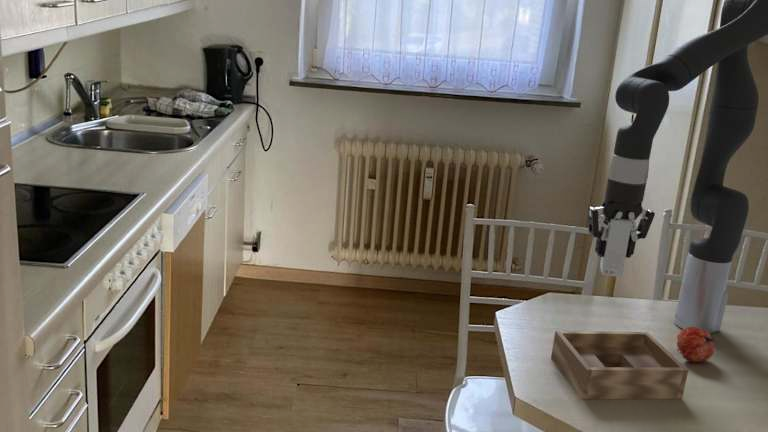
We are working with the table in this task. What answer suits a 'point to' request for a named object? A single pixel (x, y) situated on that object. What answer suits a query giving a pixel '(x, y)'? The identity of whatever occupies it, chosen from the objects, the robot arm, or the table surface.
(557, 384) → the table surface
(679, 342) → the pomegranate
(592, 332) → the crate
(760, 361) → the table surface
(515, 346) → the table surface
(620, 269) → the skincare box
